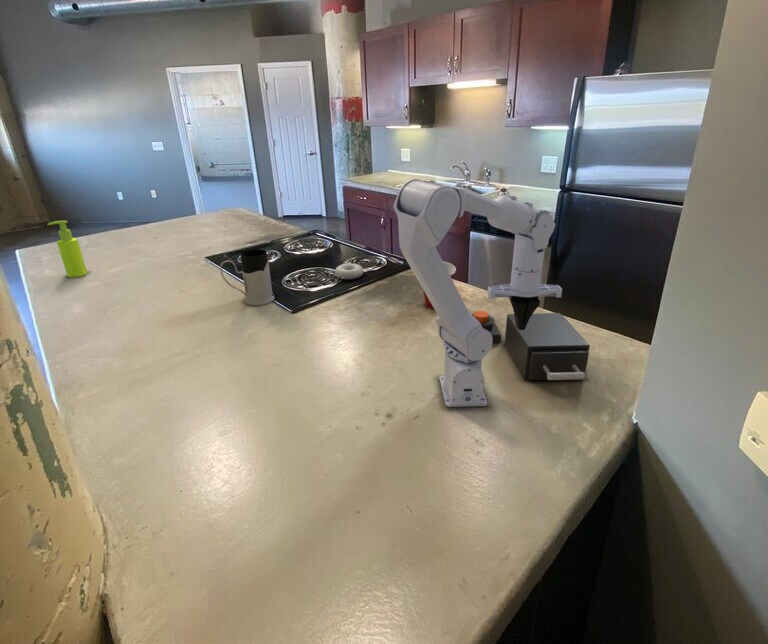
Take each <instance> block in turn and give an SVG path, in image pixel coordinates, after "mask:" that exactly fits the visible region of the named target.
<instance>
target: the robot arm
mask: <svg viewBox="0 0 768 644" xmlns="http://www.w3.org/2000/svg"><path fill="white" fill-rule="evenodd" d="M517 199H518V197H517V196H515V195H512V194H506V196H505V195H502V196H498V197H496V198H494V199H492V198H491V197H490V198H489V197H487V196H485V195H482V194H480V193H478V192H475V191H473V190H471V189H468V188H465V187H462V186H461V187H460V186H458V185H457V186H456V185H452V184H447V183H439V182H435V181H434V182H433V181H427V182H426V181H423V180H422V179H418V178H411V179H409V180H407V181H405V182H404V183H403V184H402V185H401V186H400V188H399V190H398V192H397V195H396V198H395V201H394V204H393V209H394V211H395V214H396V216H397V225H398V226H397V227H398V244H399V249H400V252H401V253H402V256H403V257H404V259H405V261H406V262H407V264H408V266H409V267H410V269H411V271H412V273H413V275H414V276H415V277H416V280H417V281H418V283H419V285H420V287H421V288H422V291H423V290H424V292H425V294H426V295H427V297H428V299H429V301H430V302H431V304H432V306H433V307H434V308H433V309H434V311H435V313H436V314H437V316H436V317H435V318H434V320H435V322H436V324H437V333H438V336H439V338H440V339H441V340H442V341H443V347H444V367H443V368H444V369H443V370H444V371H443V375H440V376H439V382H440V387H441V392H442V395H443V400H444V404H445V406H446V407H447V408H460V407H461V408H464V407H486V406H488V401H487V399H486V395H485V393H484V387H485V376H484V373H483V370H482V364H483V359H484V358H486V356H487V355H488V354H489V352H490V351H491V349H492V347H493V343H492V342H493V338H492V335H491V333H490V332H489V331H487V330H485V329H484V328H483V327H482V325H481V324H480V322H479V321H478V320H477V319H476V318H475V317H474V316H473V315H472V314H473V313H471V311H469V310H468V307H467V306H466V304H465V302H464V300H463V297H462V296H461V294H460V292H459V290H458V288H457V286H456V284H455V282H454V281H453V277H452V278H451V276H450V275H449V273H448V271H447V269H446V267H445V265H444V263H443V261H444V260H443V259H442V257H441V255H440V253H439V251H438V249H437V246H439V245H440V244H441V242H442V240H443V239H444V238H445V236H446V235H447V233H448V232H449V230H450V229H451V227H452V225H453V224H454V222H455V221H456V219H457V217H458V218H463V215H464V212H469V213H472V214H476V215H479V216H482V217H486V219H487V223H489V225H490V226H491V227H493V228H496V229H498V230H503V231H504V232H505V231H506V232H509V233H511V234H513V235H514V244H513V254H512V265H511V275H510V283H505V284H499V285H492V286H487V297H488V298H489V300H494V299H495V298H508V299H509V301H510V305H511V307H512V311H513V314H514V315H515V321H516V327H517V328H518V330H525V328H526V325H527V323H528V321H529V319H530V317H531V315H532V314H534V312H535V311H536V310H537V309H538V308H539V307H540V305H541V300H540V299H539V297H555V298H556V299H557V298H560V299H561V298H562V295H563V288H562V287H561V286H560V285H559V284H544V283H541V282H542V274H543V266H544V259H545V257H544V256H545V249H546V248H548V245H549V240H550V238H551V236H552V234H553V233H554V231H555V228H556V223H555V221H554V217H553V215H552V214H551V212H550V211H548V210H546V209H542V208H537V207H533V206H534V203H531V202H528V201H525V202H521V201H518V200H517ZM424 292H423V293H424Z"/></svg>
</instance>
